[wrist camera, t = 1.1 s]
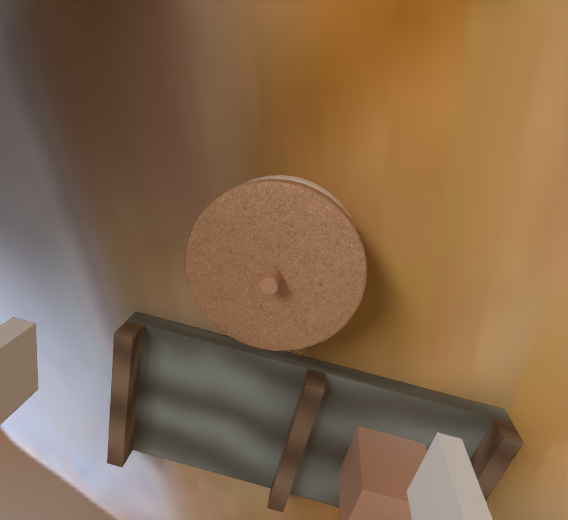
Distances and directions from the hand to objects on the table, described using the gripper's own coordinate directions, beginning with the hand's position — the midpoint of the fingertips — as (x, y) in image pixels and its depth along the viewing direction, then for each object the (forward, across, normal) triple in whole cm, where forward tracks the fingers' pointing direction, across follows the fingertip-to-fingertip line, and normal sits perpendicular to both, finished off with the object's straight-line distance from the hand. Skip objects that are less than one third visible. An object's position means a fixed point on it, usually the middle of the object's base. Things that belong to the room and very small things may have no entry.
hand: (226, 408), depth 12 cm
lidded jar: (+18, 0, 0) cm, 18 cm away
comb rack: (+18, +5, -18) cm, 26 cm away
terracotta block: (+17, +13, -18) cm, 28 cm away
